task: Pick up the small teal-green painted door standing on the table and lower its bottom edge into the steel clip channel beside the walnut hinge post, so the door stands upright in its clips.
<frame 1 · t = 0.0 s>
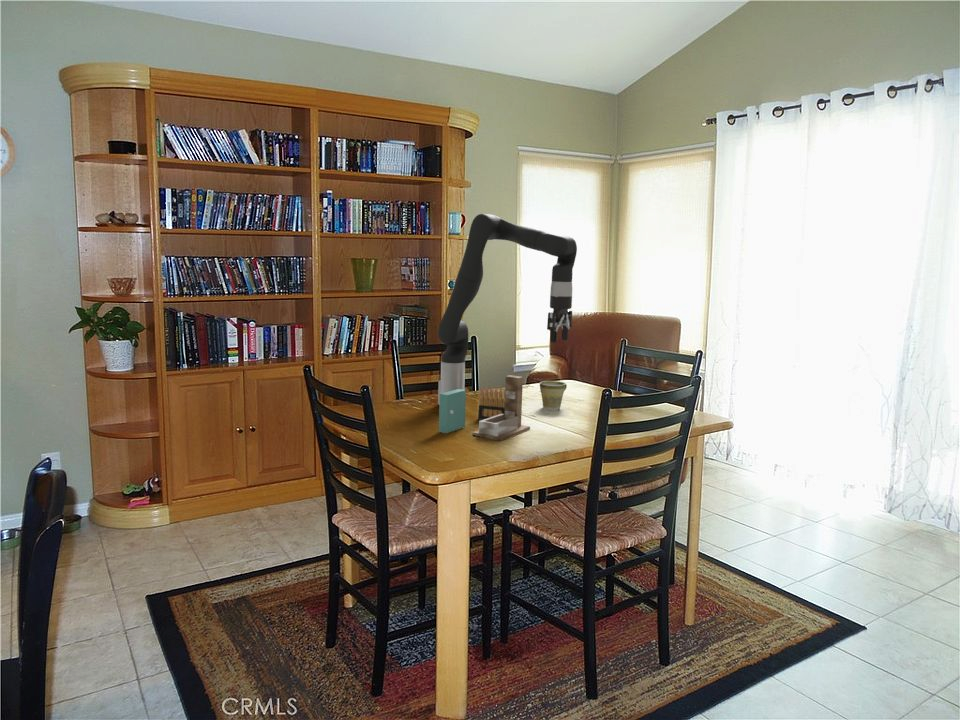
hand: (559, 341, 257), 29 cm above the table, tool pointing down, fingers open, 8 cm apart
teal door: (452, 429, 248), on the table
hinge frame: (499, 433, 245), on the table
ammunition clip: (492, 420, 264), on the table
ceramic cup: (554, 408, 286), on the table
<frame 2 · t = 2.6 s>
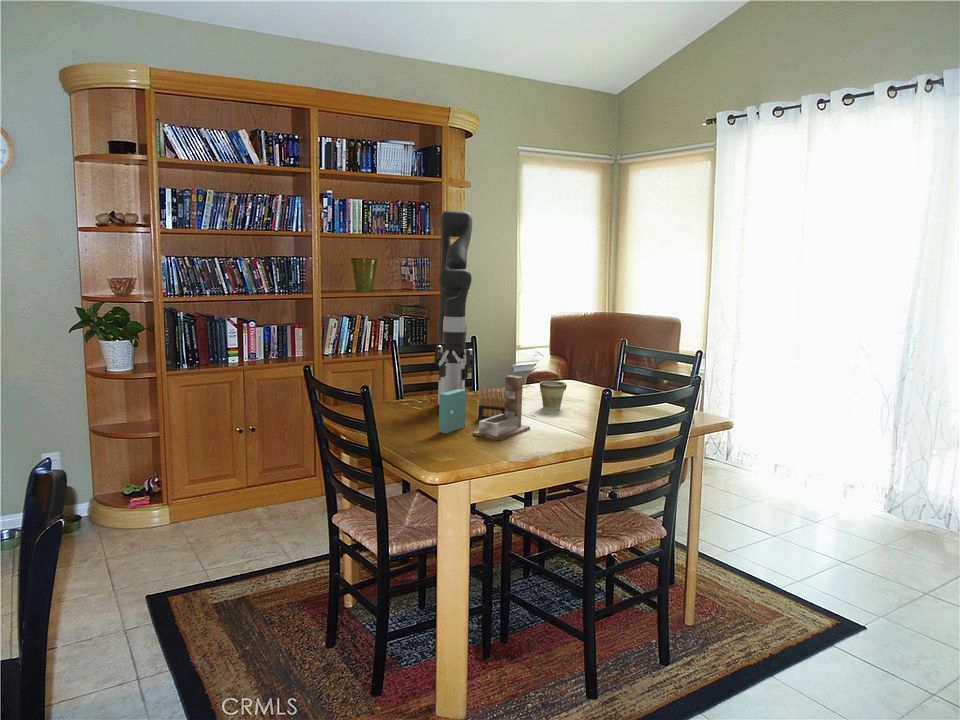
hand: (453, 378, 245), 18 cm above the table, tool pointing down, fingers open, 8 cm apart
nothing on the table moved.
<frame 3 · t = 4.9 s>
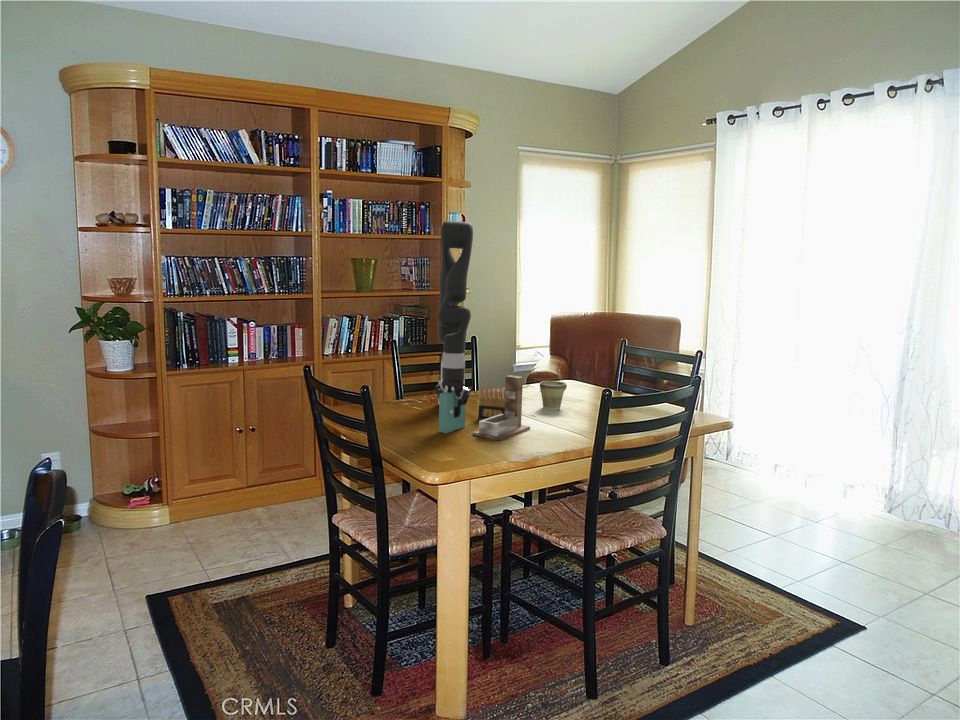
hand: (452, 416, 247), 5 cm above the table, tool pointing down, fingers closed on teal door, 3 cm apart
teal door: (452, 429, 248), on the table, touching gripper
everything else where it was.
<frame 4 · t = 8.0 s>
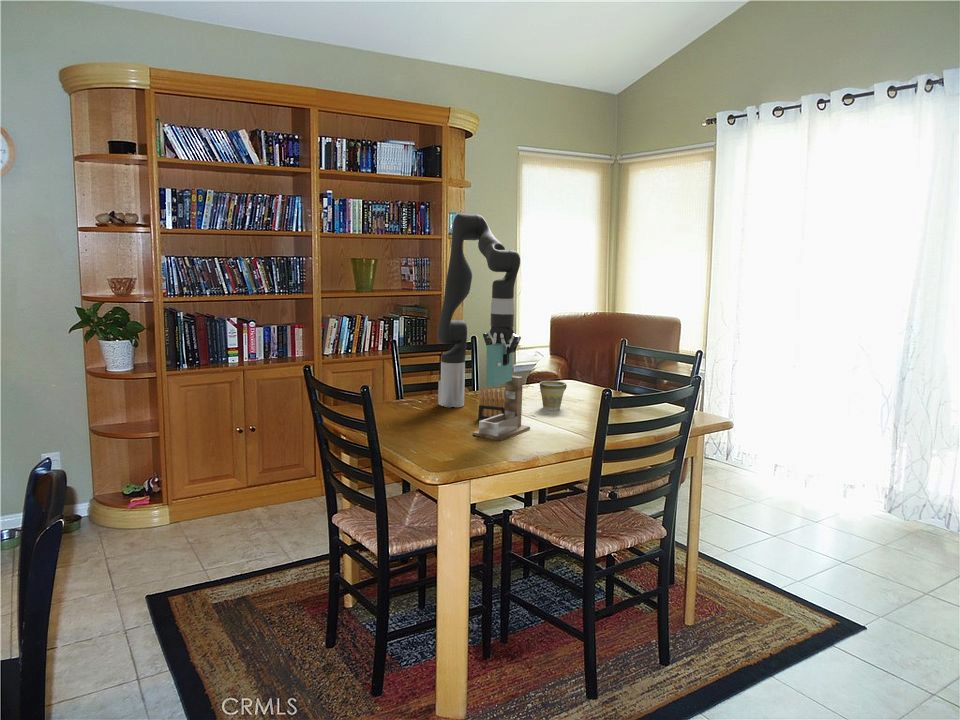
hand: (500, 364, 241), 23 cm above the table, tool pointing down, fingers closed on teal door, 3 cm apart
teal door: (499, 382, 242), point 17 cm above the table, touching gripper
everything else where it was.
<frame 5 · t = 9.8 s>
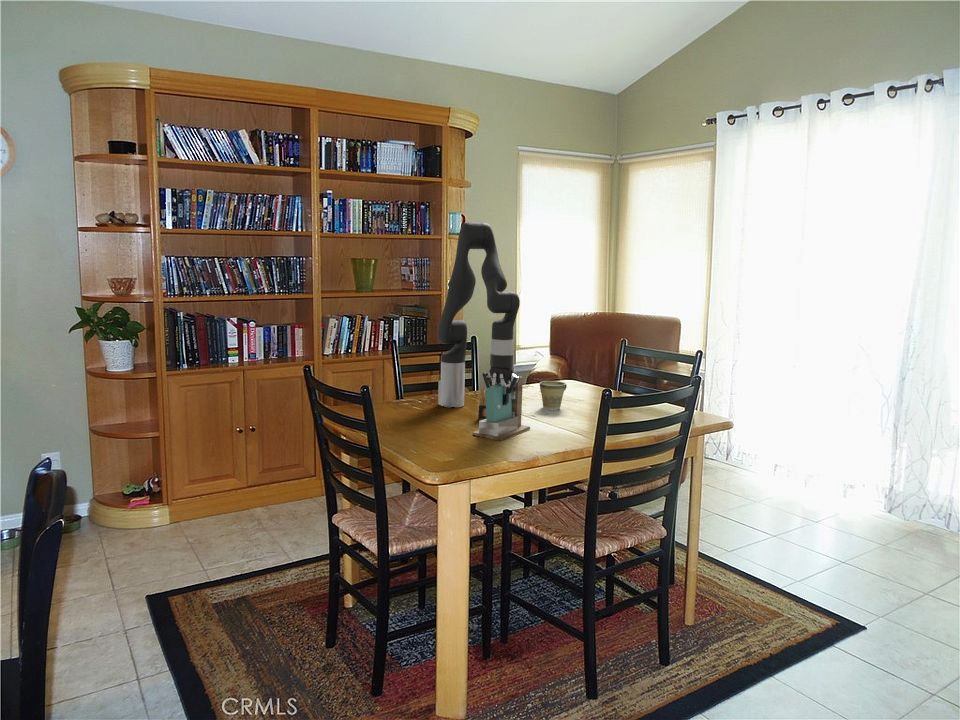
hand: (500, 404, 243), 10 cm above the table, tool pointing down, fingers closed on teal door, 3 cm apart
teal door: (499, 423, 244), point 3 cm above the table, tilted 7°, touching gripper
everything else where it was.
when the fingers open (7 cm above the table, at t = 11.1 s): teal door stays where it is, resting on hinge frame.
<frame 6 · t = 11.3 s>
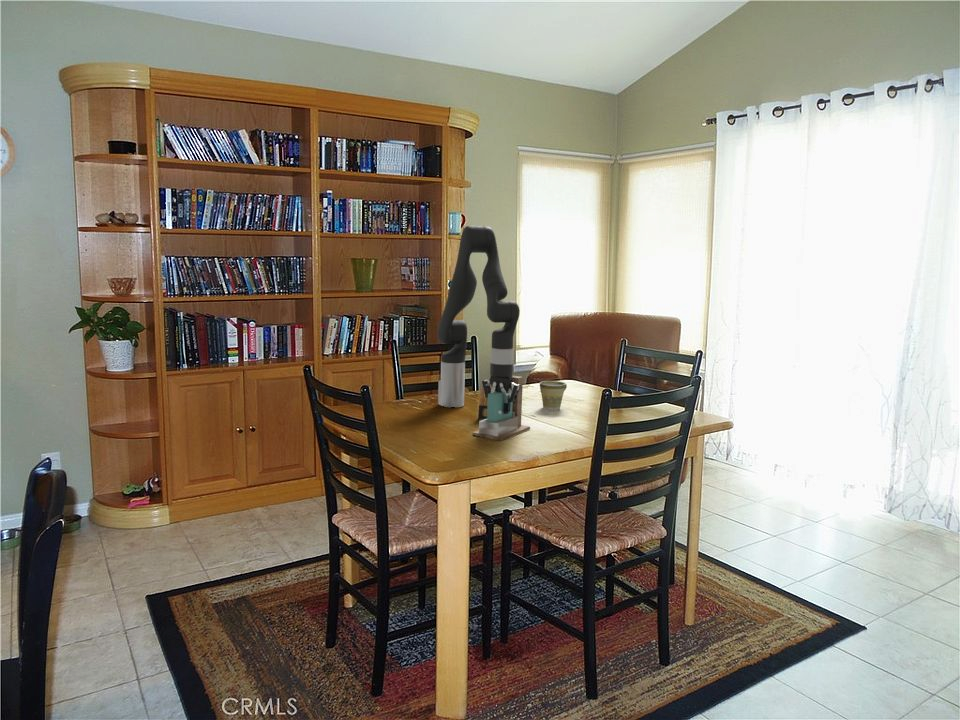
hand: (500, 412, 244), 7 cm above the table, tool pointing down, fingers open, 4 cm apart
teal door: (499, 430, 245), point 1 cm above the table, touching hinge frame
everything else where it was.
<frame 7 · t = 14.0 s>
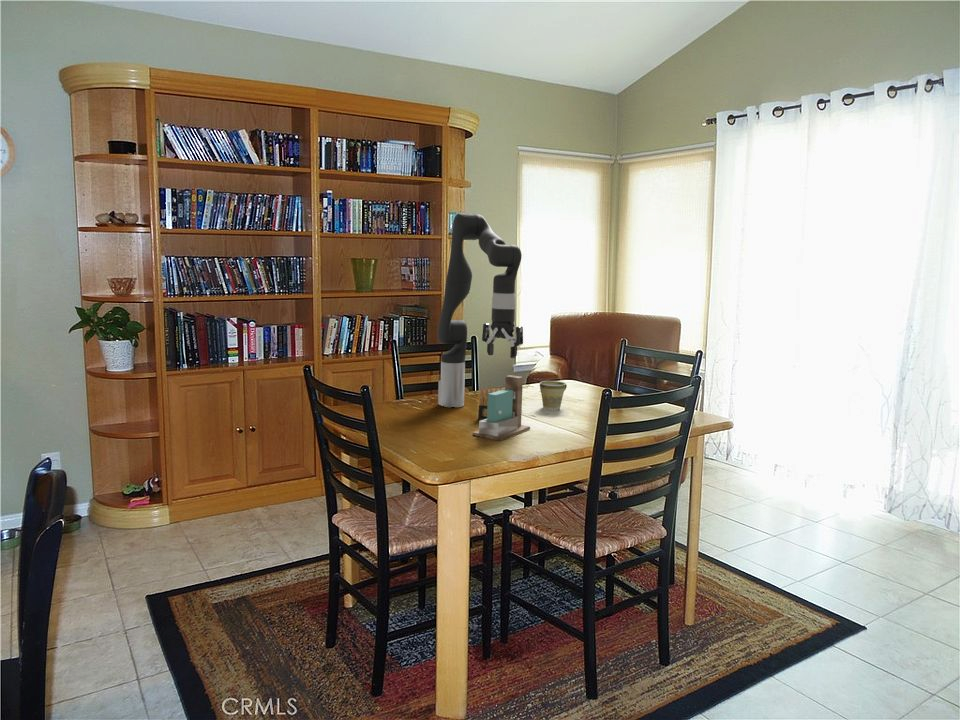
hand: (501, 356, 241), 26 cm above the table, tool pointing down, fingers open, 8 cm apart
nothing on the table moved.
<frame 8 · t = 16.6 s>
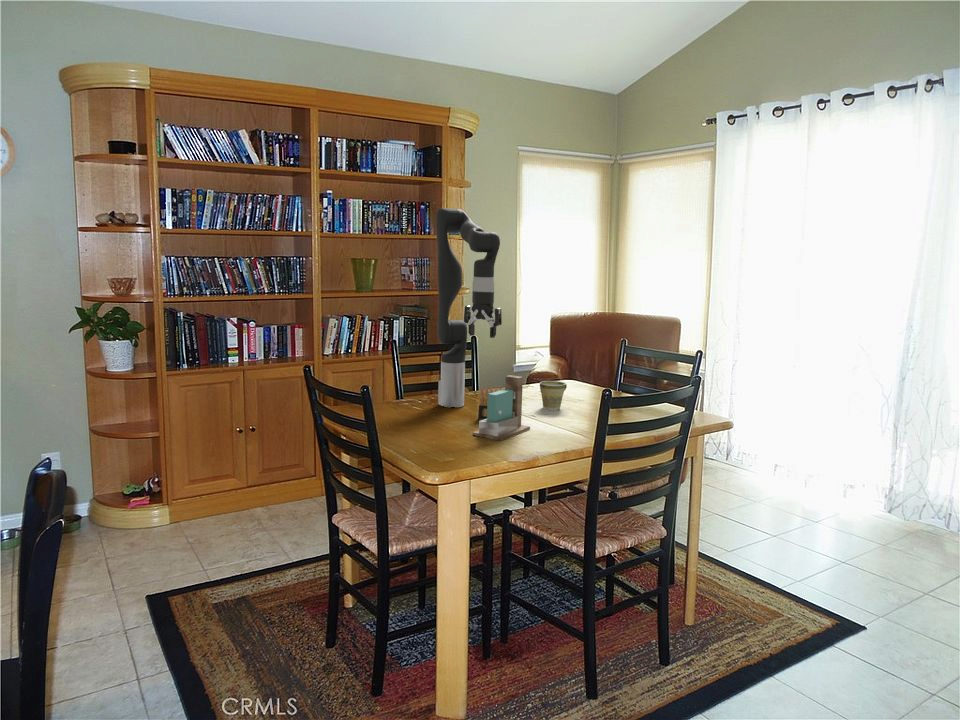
hand: (482, 336, 258), 30 cm above the table, tool pointing down, fingers open, 8 cm apart
nothing on the table moved.
at the end: teal door 0.1 cm off-centre on the hinge frame, point 1.0 cm above the hinge frame's base; teal door tilted 0°; the gripper is holding nothing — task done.
